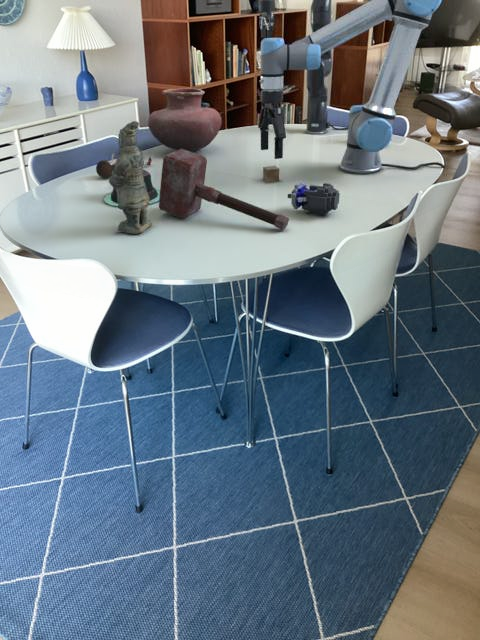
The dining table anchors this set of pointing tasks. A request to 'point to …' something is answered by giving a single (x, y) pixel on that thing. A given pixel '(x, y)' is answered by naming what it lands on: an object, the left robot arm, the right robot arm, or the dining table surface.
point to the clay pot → (185, 121)
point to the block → (271, 174)
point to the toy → (315, 198)
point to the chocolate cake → (152, 192)
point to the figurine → (110, 167)
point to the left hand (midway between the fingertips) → (266, 38)
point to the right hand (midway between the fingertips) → (271, 154)
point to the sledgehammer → (200, 190)
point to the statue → (131, 182)
